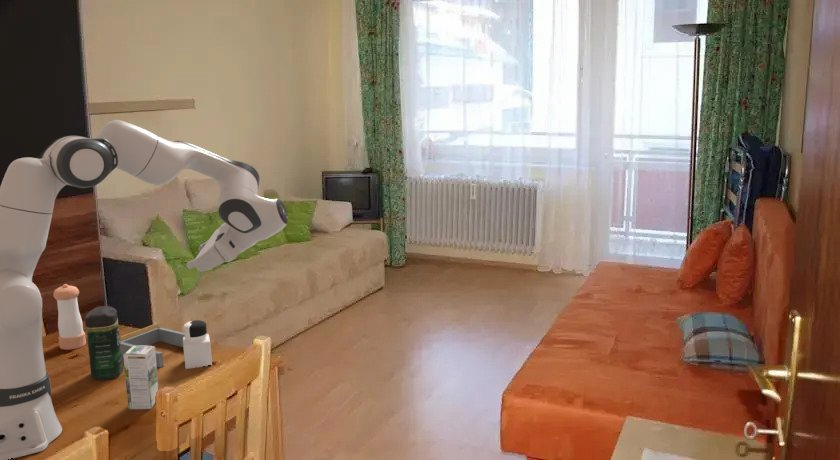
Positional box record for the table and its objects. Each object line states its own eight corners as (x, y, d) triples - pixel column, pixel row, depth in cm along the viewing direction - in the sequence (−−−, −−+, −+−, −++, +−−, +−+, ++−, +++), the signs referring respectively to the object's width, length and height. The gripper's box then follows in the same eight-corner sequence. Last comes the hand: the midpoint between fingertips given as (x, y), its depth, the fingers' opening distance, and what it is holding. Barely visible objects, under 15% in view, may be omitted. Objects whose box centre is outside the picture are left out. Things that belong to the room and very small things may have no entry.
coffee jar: (121, 379, 199) (113, 313, 195) (89, 382, 197) (80, 316, 193) (125, 365, 208) (118, 302, 204) (95, 368, 206) (87, 305, 202)
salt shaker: (64, 341, 228) (56, 281, 224) (89, 340, 228) (81, 280, 224) (56, 350, 221) (47, 288, 216) (81, 348, 221) (73, 287, 217)
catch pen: (160, 367, 206) (158, 349, 205) (117, 355, 216) (115, 338, 214) (201, 349, 218) (199, 333, 217) (159, 339, 228) (157, 322, 227)
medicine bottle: (210, 356, 213) (207, 317, 210) (212, 365, 206) (208, 324, 204) (184, 360, 211) (181, 320, 208) (185, 369, 204) (181, 328, 202)
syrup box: (137, 399, 186) (131, 345, 183) (160, 399, 186) (155, 344, 183) (128, 409, 181) (121, 353, 177) (152, 409, 180) (146, 353, 177)
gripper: (239, 210, 205) (200, 231, 209) (216, 244, 187) (173, 266, 191) (252, 228, 208) (213, 249, 211) (230, 263, 189) (188, 285, 193)
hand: (194, 257), depth 201 cm, fingers open, 8 cm apart
